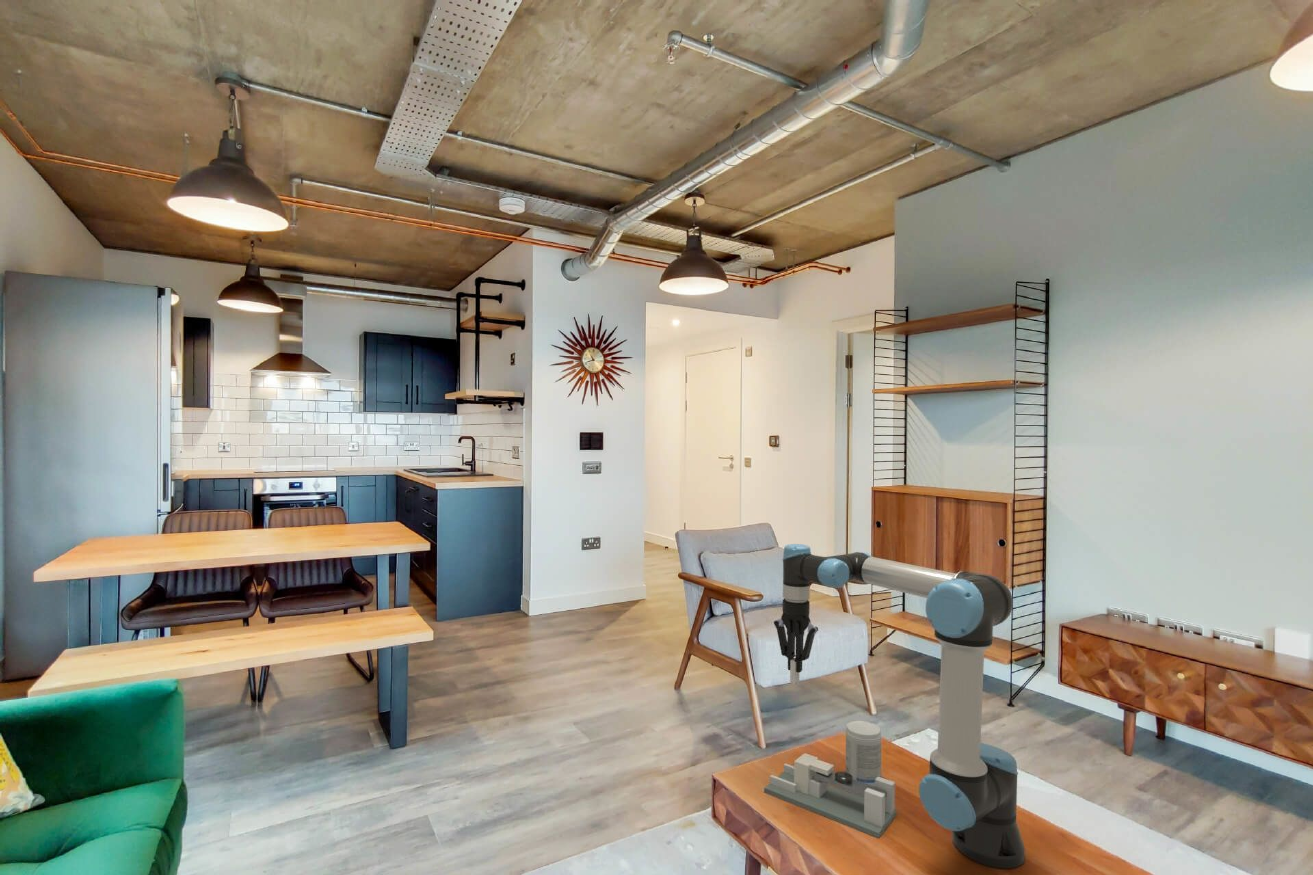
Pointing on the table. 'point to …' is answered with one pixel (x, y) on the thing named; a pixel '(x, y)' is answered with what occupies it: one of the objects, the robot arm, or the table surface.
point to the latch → (808, 771)
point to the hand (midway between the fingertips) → (794, 682)
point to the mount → (840, 801)
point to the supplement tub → (863, 751)
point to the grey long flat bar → (846, 782)
